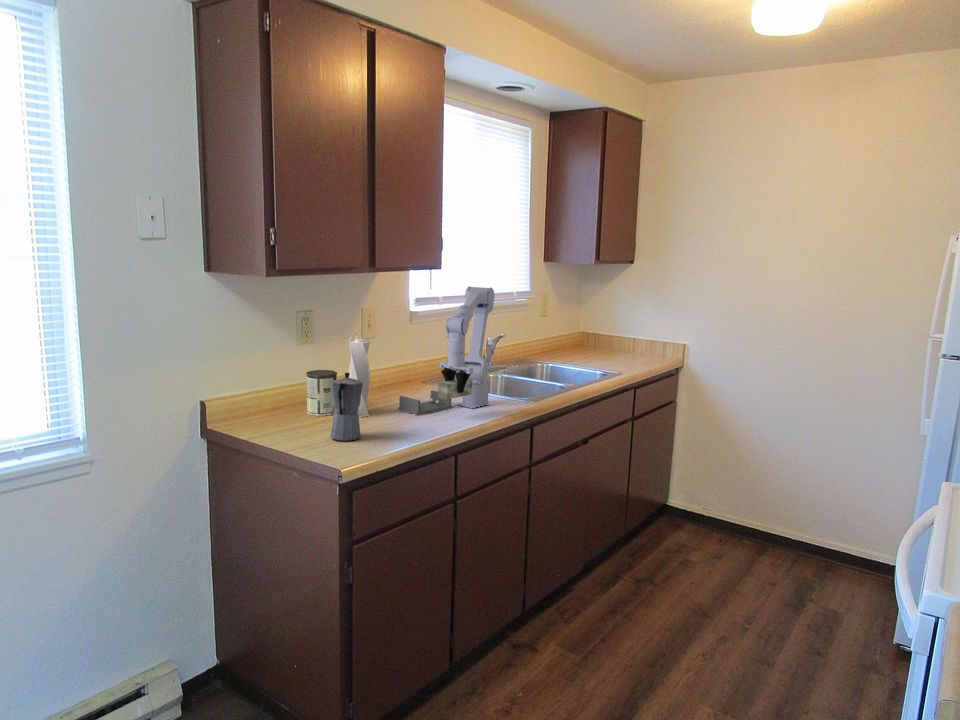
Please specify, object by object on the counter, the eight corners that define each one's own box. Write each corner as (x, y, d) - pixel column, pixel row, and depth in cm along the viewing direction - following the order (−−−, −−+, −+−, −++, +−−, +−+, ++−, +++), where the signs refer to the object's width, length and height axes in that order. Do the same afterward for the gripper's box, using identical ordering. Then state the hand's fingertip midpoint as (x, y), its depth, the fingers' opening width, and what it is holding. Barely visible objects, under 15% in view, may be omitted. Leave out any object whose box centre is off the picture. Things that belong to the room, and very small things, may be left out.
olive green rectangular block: (462, 392, 235) (463, 378, 234) (472, 394, 232) (472, 380, 231) (437, 397, 226) (438, 382, 225) (447, 399, 223) (447, 384, 222)
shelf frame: (433, 403, 250) (433, 390, 249) (452, 408, 243) (452, 394, 242) (398, 410, 237) (398, 396, 236) (416, 415, 231) (417, 401, 230)
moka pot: (365, 431, 209) (365, 369, 205) (358, 446, 194) (358, 379, 190) (334, 431, 208) (334, 368, 205) (325, 445, 193) (324, 378, 190)
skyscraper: (343, 413, 231) (343, 333, 227) (365, 411, 235) (366, 332, 230) (350, 419, 224) (350, 336, 219) (373, 417, 228) (374, 336, 223)
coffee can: (321, 407, 237) (321, 368, 235) (343, 411, 232) (343, 372, 230) (300, 413, 229) (299, 372, 226) (322, 417, 224) (322, 376, 221)
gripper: (433, 350, 228) (432, 389, 230) (463, 356, 218) (462, 396, 221) (448, 348, 233) (447, 386, 236) (478, 354, 224) (476, 393, 226)
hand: (455, 391), depth 228 cm, fingers closed on olive green rectangular block, 4 cm apart
